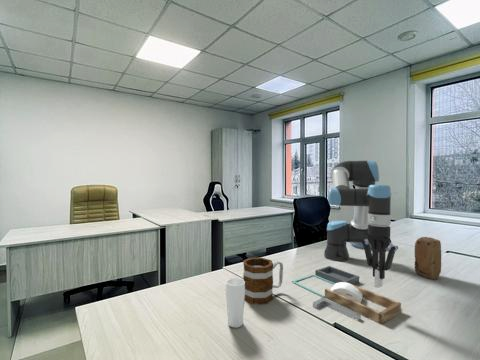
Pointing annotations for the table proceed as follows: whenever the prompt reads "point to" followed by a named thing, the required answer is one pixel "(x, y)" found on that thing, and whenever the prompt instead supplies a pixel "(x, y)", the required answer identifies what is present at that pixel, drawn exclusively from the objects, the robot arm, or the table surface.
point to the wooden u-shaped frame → (380, 317)
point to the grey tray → (336, 275)
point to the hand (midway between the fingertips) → (378, 286)
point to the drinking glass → (235, 301)
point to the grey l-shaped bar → (336, 307)
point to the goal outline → (310, 289)
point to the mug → (260, 280)
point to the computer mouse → (347, 291)
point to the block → (428, 257)
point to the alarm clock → (359, 245)
